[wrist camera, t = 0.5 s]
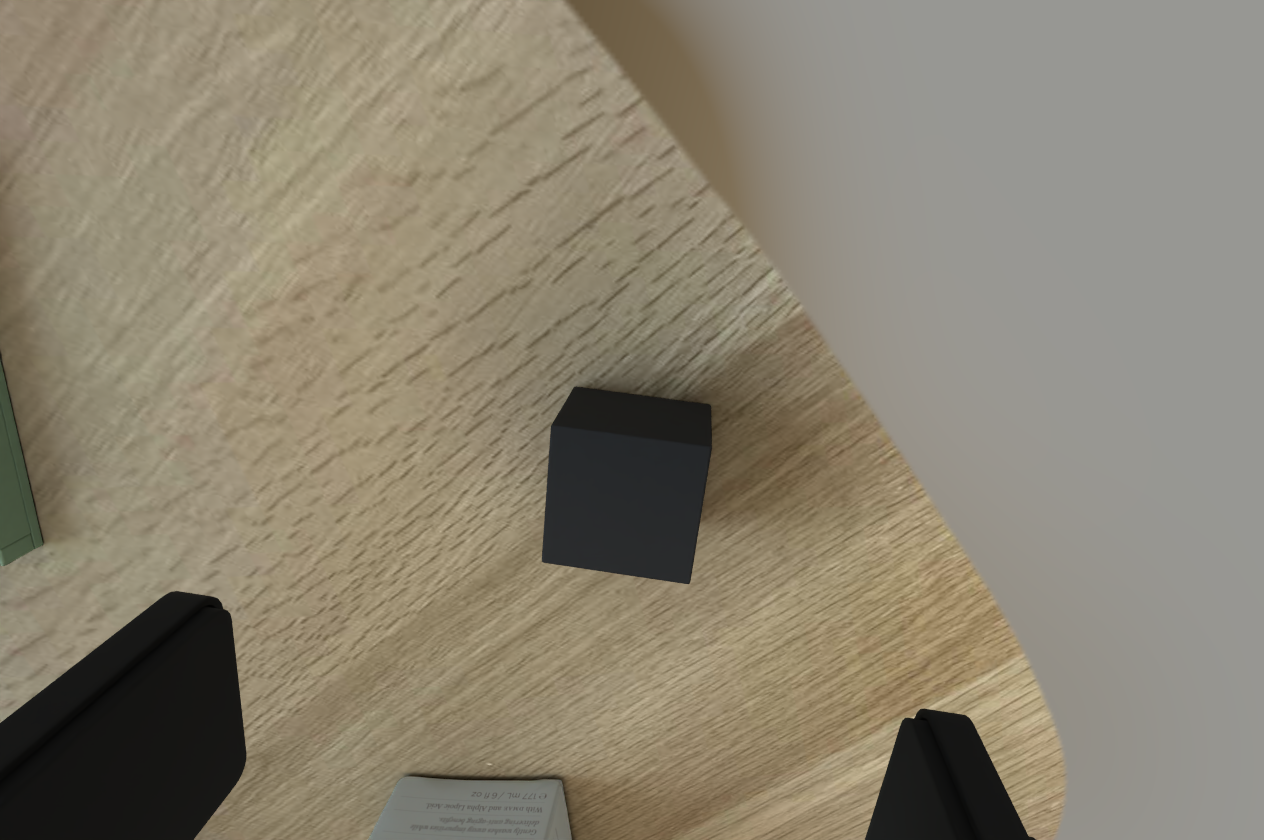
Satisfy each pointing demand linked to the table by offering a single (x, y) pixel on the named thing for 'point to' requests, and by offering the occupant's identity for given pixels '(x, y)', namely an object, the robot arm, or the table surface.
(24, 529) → the tray
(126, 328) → the table surface
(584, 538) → the black cube
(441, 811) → the cosmetic box
